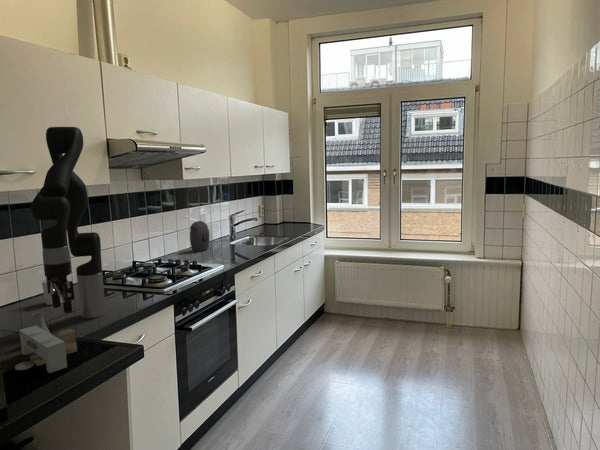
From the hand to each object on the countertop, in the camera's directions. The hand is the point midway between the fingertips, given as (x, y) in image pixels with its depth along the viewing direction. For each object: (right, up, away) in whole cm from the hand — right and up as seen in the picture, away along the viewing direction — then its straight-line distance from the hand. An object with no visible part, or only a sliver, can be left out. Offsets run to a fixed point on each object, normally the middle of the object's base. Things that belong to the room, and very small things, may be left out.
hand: (62, 309), depth 148 cm
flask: (-13, -13, +12) cm, 22 cm away
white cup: (-32, -7, +55) cm, 64 cm away
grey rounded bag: (+11, +10, +158) cm, 159 cm away
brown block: (-2, -15, -1) cm, 15 cm away
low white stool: (-4, -15, -3) cm, 16 cm away
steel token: (-8, -16, -7) cm, 19 cm away
